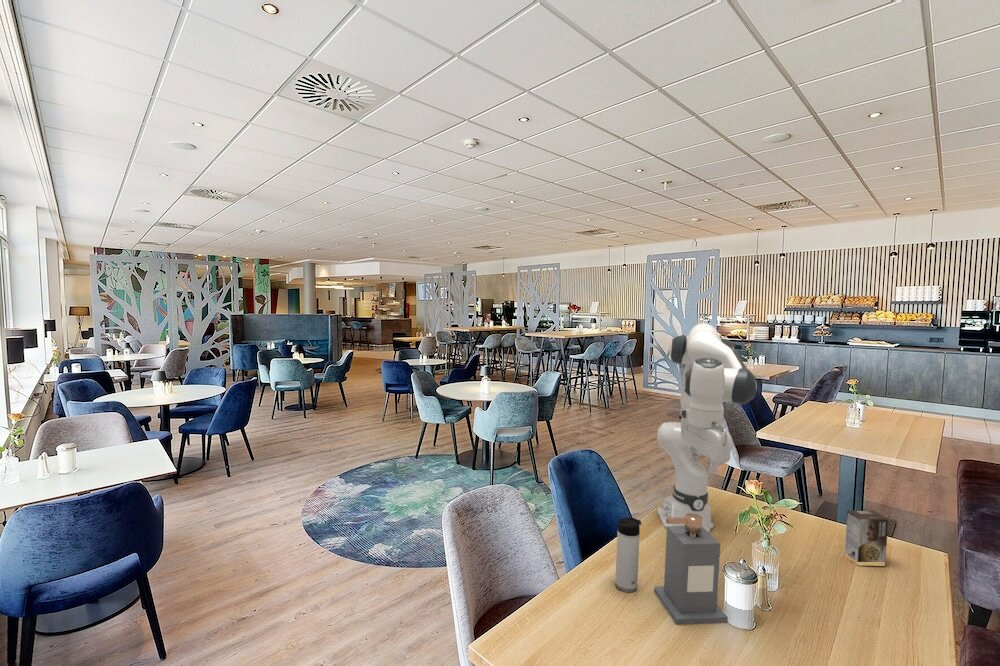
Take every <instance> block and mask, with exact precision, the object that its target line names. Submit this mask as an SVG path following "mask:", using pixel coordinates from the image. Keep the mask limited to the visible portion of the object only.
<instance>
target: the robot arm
mask: <svg viewBox="0 0 1000 666" xmlns="http://www.w3.org/2000/svg"><path fill="white" fill-rule="evenodd" d="M668 355H669V357H670V360H671V361H672V362H673V363H675V364H678V365H685V367H684V370H683V374H682V378H681V389H680V402H679V403H680V406H681V410H680V413H679V414H680V417H681V420H680V422H679V421H668V422H663V423H662V424H660V426H659V427H658V429H657V433H656V438H657V442H658V444H659V445H660V447H661V448H663V450H665V452H666V453H667V454H668V455H669V457H670V458H671V460H672V462H673V464H674V471H675V480H674V481H675V485H674V484H673V485H672V486H673V487H672V489H673V490H672V493H671V494H670V495H668V496H667V497H665V498H664V499H663V503H661V506H660V507H658V509H657V508H656V513H657V514H659V515H658V516H660V517H659V518H660V519H659V520H660V521H661V523H662V524H663V527H664V528H665V529H667V526H685V524H668V523H667V522H666V518H677V517H685V514H687V513H694V514H697V515H700V516H701V517H702V527H703V528H704V529H705V530H706V531H707V532H709V533H710V532H711V529H712V528H714V527H713V526H714V523H713V522H711V521H712V518H711V505H710V504H709V503H708V502H709V492H708V478H709V475H708V474H710V475H717V472H718V471H717V470H718V467H719V466H720V464H721V463H723V464H725V463H729V461H730V460H731V451H732V448H733V439H732V436H731V434H730V433H729V431H727V429H726V428H725V427H724V416H725V415H724V413H725V407H724V403H725V402H727V403H733V404H739V405H743V406H744V405H746V404H747V403H749V402H751V401H752V400H753V399H754V398H756V393H757V388H758V387H757V380H756V378H755V375H754V374H753V372H752V371H750V369H748V368H747V366H746V364H745V363H744V361H743V360H742V358H741V356H740V355H739V354H738V352H737V351H736V350H735V347H734V344H733V342H732V341H731V340H730V339H727V338H723V337H721V336H720V334H719V332H718V330H717V329H716V328H715V327H714V326H713V325H711V324H708V323H698V324H696V325H695V326H693V327H692V328H691V329H690V331H689V333H688V335H684V334H681V335H677V336H675V337H674V338H672V340H671V342H670V343H669V345H668ZM700 456H703V457H708V458H709V462H710V464H709V465H707V469H706V468H705V467H704V466H703V464H701V463H699V461H700V459H699V458H700ZM661 507H662V508H661ZM660 508H661V509H660ZM657 510H658V511H657Z"/></svg>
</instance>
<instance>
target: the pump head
mask: <svg viewBox="0 0 1000 666" xmlns="http://www.w3.org/2000/svg"><path fill="white" fill-rule="evenodd" d="M666 522H667V523H668V524H685V526H684V529H685V530H686V531H688V532H690V537H695V536H696V534H698V533H701V532H702V517H701V516H700V515H697V514H694V513H687V514H685V517H677V518H666Z"/></svg>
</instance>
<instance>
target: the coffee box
mask: <svg viewBox="0 0 1000 666" xmlns="http://www.w3.org/2000/svg"><path fill="white" fill-rule="evenodd" d="M888 526H889V519H888V518H887V517H885V516H883V515H882V514H881V513H879V512H877V511H875V510H859V509H858V510H853V509H852V510H849V509H847V513H846V527H845V541H844V543H845V545H844V554H847V555H848V556H850V557H851V558H853V559H854V560H856V561H857V562H885V563H886V558H887V545H888V531H889V530H888Z"/></svg>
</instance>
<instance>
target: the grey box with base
mask: <svg viewBox="0 0 1000 666" xmlns="http://www.w3.org/2000/svg"><path fill="white" fill-rule="evenodd" d="M665 538H666V539H665V541H666V542H665V558H664V559H665V561H664V563H665V564H664V578H663V579H664V583H663V585H662V586H661V585H660V586H653V593H654V594H655V595H656V597H657V598H658V600H659V602H660V603H661V604H662V605H663V608H664V609H665V610H666V612H667V614H669V616H670V618H671V619H672V620H673V622H674V623H675V625H700V624H703V625H705V624H725V623H727V624H728V622H729V621H728V616H727V615H726V613H725V612H724V611H723V610H722V609H721V607H720V606H719V605H718V589H719V574H720V573H719V570H720V569H719V568H720V559H721V558H720V557H721V543H720V541H718V540H717V538H715V537H714V536H713V535H712V534H711V533H710V532H707V531H706V530H705V529H704V528H703V527H702V532H701V533H698V534H696V536H695V537H690V532H688V531H686V530H685V529H684V526H667V528H666V537H665Z"/></svg>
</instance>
